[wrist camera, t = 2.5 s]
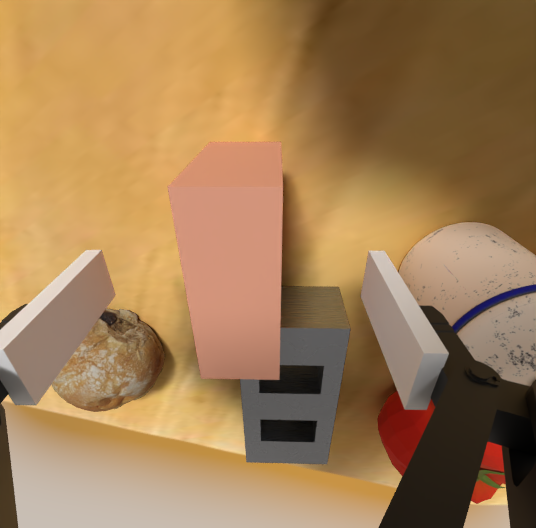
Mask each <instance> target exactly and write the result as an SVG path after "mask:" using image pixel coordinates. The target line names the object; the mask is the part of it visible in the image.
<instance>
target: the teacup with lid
mask: <svg viewBox="0 0 536 528" xmlns="http://www.w3.org/2000/svg"><path fill="white" fill-rule="evenodd" d="M399 275H400V276H401V278H402V279H403V281H404V283H405V284H406V286H407V287H408V289H409V291H410V292H411V294H412V295H413V297H414V299H415V300H416V302H417V303H418V305H422V306H433V307H434V308H435V309H437V310H438V311H439V312H441V313H442V314H443V315H444V317H445V318H446V320H447V321H448V322H449V325H451V327H452V328H453V330H454V332H455V333H456V334H457V335H458V337H459V338H460V339H461V341H462V342H463V344H464V345H465V347H466V348H467V349H468V351H469V352H470V354H471V355H472V356H473V358H474V359H475V360H476V361H479V362H482V363H484V364H486V365H488V366H490V367H491V368H493V369H494V370H495V371H496V372H497V373H498V374H499V375H500V377H501V378H502V379H504V380H507V381H511V382H515V383H519V384H523V385H527V386H531V384H532V383H533V381H534V380H536V255H534V254H533V253H532V252H530V251H529V250H527V249H526V248H525V247H523V246H522V245H520V244H519V243H518V242H516V241H515V240H514V239H512V238H511V237H509V236H508V235H507V234H505V233H504V232H502V231H501V230H499V229H498V228H496V227H493V226H491V225H488V224H484V223H478V222H463V223H456V224H452V225H448V226H445V227H443V228H440V229H438V230H436V231H434V232H432V233H430V234H428V235H427V236H425V237H424V238H423V239H421V240H420V241H419V242H418V243H416V244H415V245H414V246H413V247H412V249H411V250H410V251H409V252H408V253H407V255H406V256H405V258H404V260H403V262H402V264H401V266H400V269H399Z"/></svg>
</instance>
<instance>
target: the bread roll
mask: <svg viewBox="0 0 536 528" xmlns="http://www.w3.org/2000/svg"><path fill="white" fill-rule="evenodd" d="M164 357H165V354H164V352H163V348H162V344H161V343H160V341H159V340H158V338H157V336H156V335H155V333H154V332H153V331H152V329H151V328H150V327H149V326H148V325H147V324H146V323H144V322H142V321H140V320H138V317H137V314H135V313H134V312H131V311H129V310H122V309H119V310H112V309H105V311H104V312H103V313H102V315H101V316H100V318H99V319H98V320H97V322H96V323H95V324H94V326H93V327H92V329H91V330H90V331H89V333H88V334H87V336H86V337H85V338H84V340H83V341H82V342H81V344H80V345H79V347H78V348H77V349H76V351H75V352H74V354H73V355H72V356H71V358H70V359H69V360H68V362H67V363H66V365H65V366H64V367H63V369H62V370H61V372H60V373H59V374H58V376H57V377H56V378H55V380H54V381H53V383H52V386H53V388H54V390H55V391H56V392H57V393H58V394H59V396H60V397H61V398H63V399H64V400H65V401H66V402H68V403H70V404H72V405H74V406H75V407H78V408H81V409H84V410H88V411H94V412H99V411H107V410H111V409H117V408H118V407H121V406H122V405H123V404H125V403H128V402H130V401H132V400H136V399H138V398H140V397H142V396H143V395H145V394H146V393H147V392H148V390H149V389H151V388H152V387H153V386H154V384H155V381H156V379H157V377H158V375H159V373H160V372H161V370H162V367H163V364H164Z"/></svg>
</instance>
